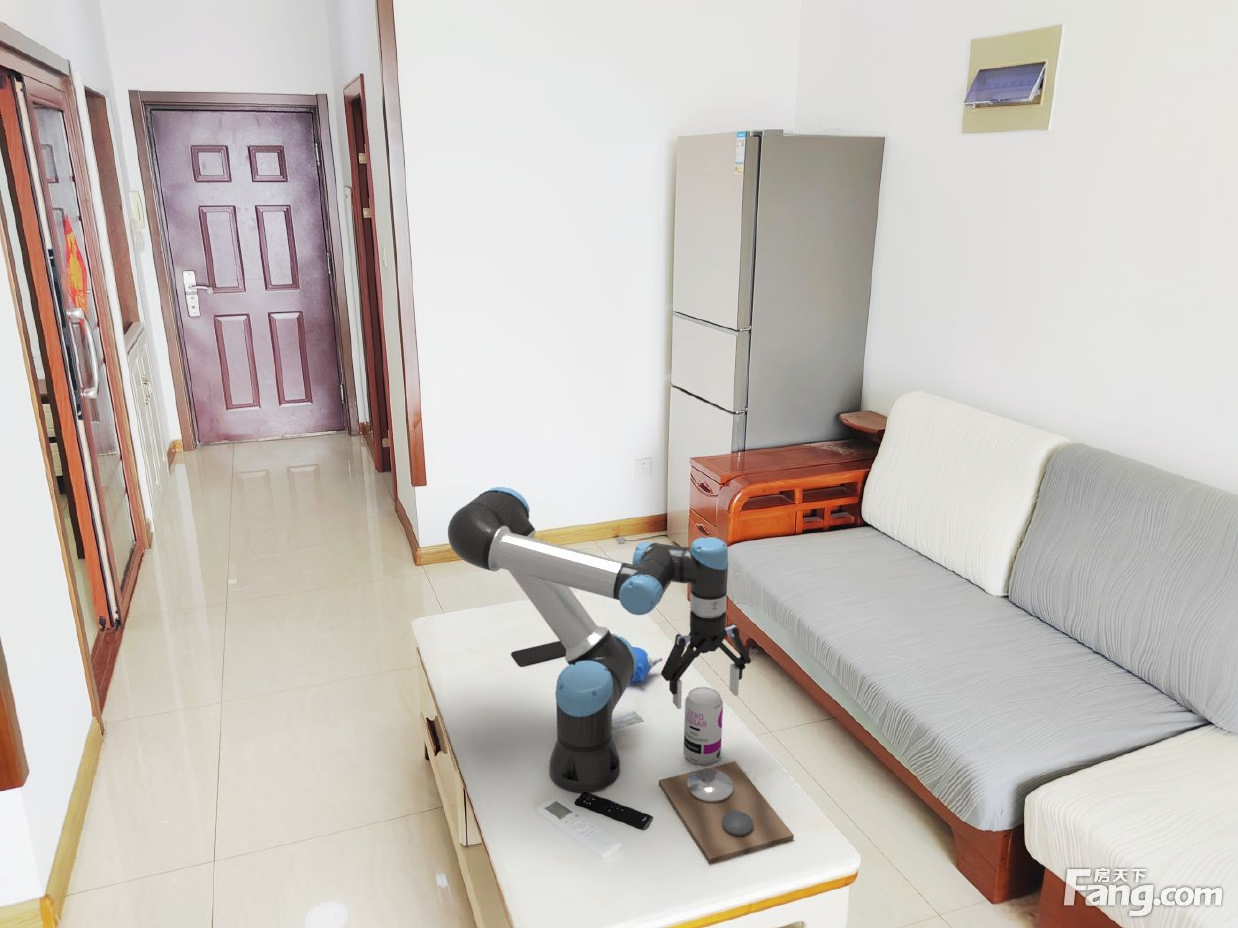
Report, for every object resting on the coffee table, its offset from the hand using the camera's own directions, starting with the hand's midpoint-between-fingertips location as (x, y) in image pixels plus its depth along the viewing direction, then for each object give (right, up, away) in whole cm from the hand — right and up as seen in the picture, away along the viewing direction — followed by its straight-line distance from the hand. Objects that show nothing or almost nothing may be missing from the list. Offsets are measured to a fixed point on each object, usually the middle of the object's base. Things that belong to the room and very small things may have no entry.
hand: (705, 699), depth 191 cm
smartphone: (-39, 0, +46) cm, 60 cm away
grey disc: (+4, -20, -18) cm, 27 cm away
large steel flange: (0, -16, -8) cm, 18 cm away
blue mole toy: (-13, -4, +34) cm, 37 cm away
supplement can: (0, -14, +5) cm, 15 cm away
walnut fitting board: (+2, -19, -13) cm, 23 cm away
